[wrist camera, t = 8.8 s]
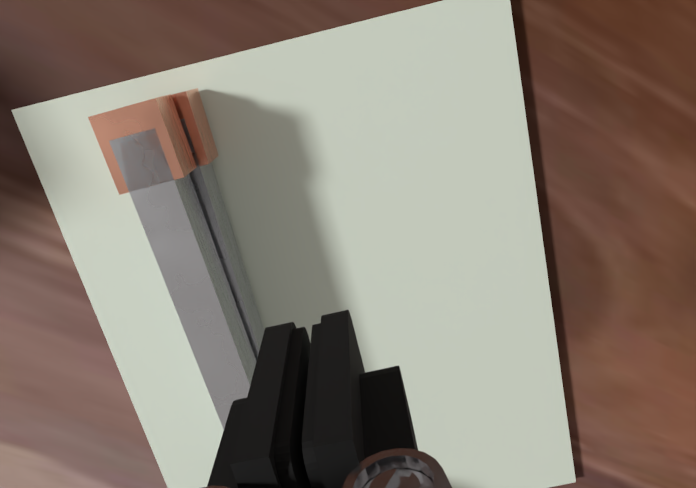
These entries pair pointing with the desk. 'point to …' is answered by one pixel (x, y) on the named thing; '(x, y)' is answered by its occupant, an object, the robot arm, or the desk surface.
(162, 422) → the mat
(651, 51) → the desk surface
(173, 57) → the desk surface
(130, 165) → the jaw
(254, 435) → the robot arm
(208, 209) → the base
